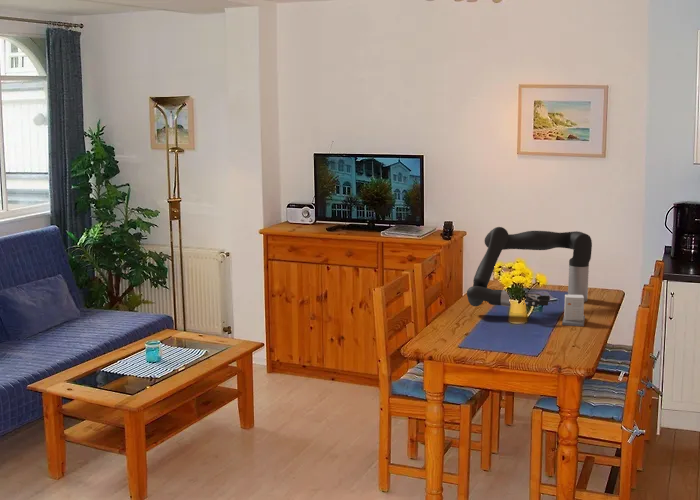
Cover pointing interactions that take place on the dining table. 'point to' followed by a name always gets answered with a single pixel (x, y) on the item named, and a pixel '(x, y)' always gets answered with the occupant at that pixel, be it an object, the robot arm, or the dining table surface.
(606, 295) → the dining table surface
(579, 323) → the slate tile
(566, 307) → the small box
